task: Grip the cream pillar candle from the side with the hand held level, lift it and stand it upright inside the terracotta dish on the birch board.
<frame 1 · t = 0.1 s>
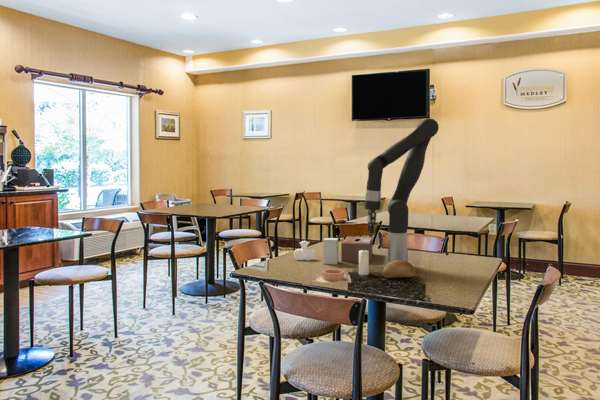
hand: (370, 232, 240), 17 cm above the table, tool pointing down, fingers open, 8 cm apart
terracotta dish: (333, 278, 210), resting on birch board
tissue box cover: (357, 258, 266), on the table
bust: (304, 259, 261), on the table
cream candle: (363, 277, 218), on the table
bread roll: (399, 278, 217), on the table
supplement box: (330, 263, 252), on the table
birch board: (333, 281, 210), on the table
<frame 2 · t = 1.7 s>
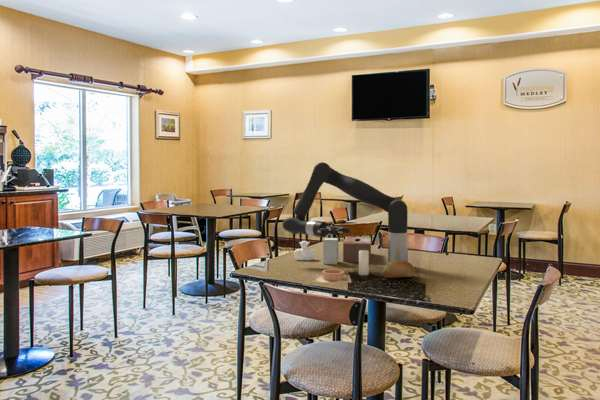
hand: (343, 231, 224), 20 cm above the table, tool horizontal, fingers open, 8 cm apart
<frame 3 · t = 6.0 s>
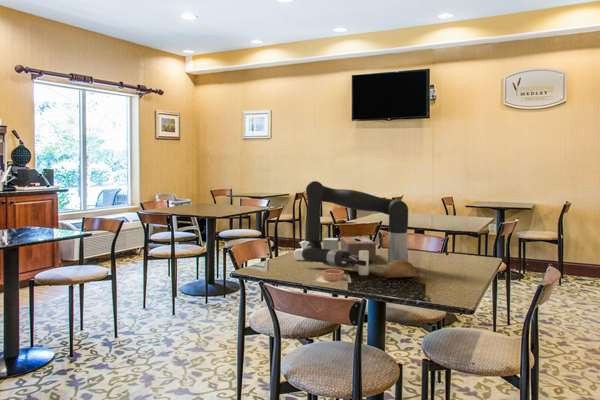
hand: (368, 262, 216), 7 cm above the table, tool horizontal, fingers closed on cream candle, 4 cm apart
cream candle: (363, 277, 218), on the table, touching gripper
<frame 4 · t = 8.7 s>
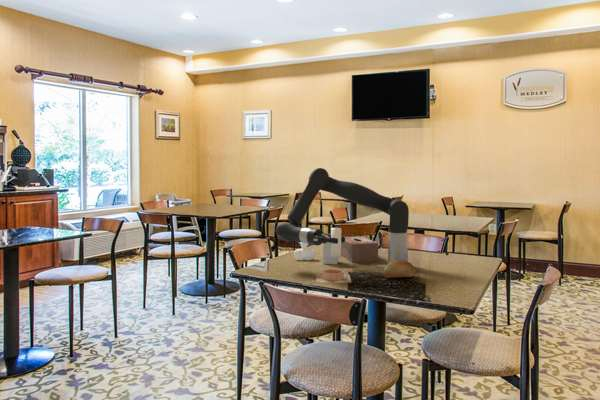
hand: (341, 240, 208), 18 cm above the table, tool horizontal, fingers closed on cream candle, 4 cm apart
cream candle: (335, 255, 211), point 11 cm above the table, touching gripper
when the fingers open (10 cm above the table, at t = 11.5 s): cream candle stays where it is, resting on terracotta dish.
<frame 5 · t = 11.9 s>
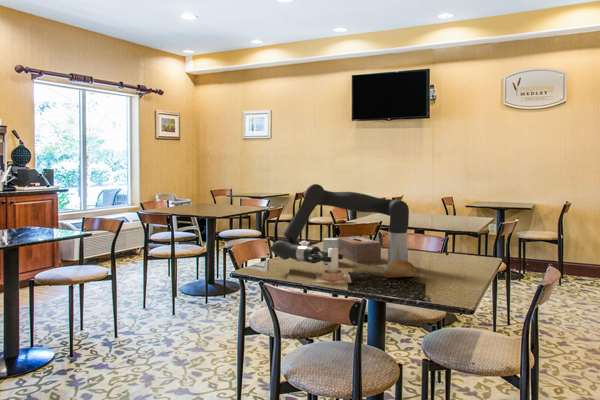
hand: (336, 258, 208), 10 cm above the table, tool horizontal, fingers open, 8 cm apart
cream candle: (332, 275, 210), point 3 cm above the table, touching terracotta dish
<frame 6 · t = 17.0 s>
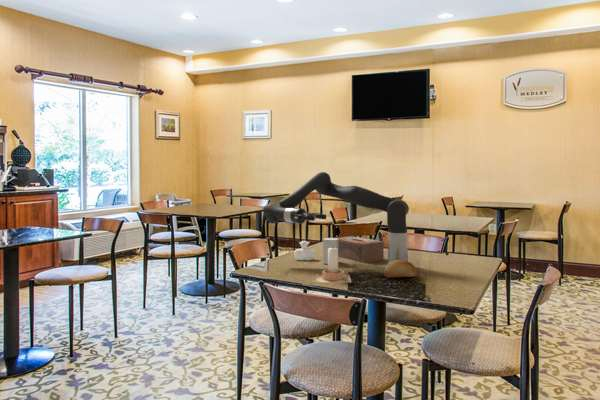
hand: (320, 217, 228), 26 cm above the table, tool horizontal, fingers open, 8 cm apart
at the end: cream candle 0.1 cm off-centre on the terracotta dish, point 1.0 cm above the terracotta dish's base; cream candle tilted 0°; the gripper is holding nothing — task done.
